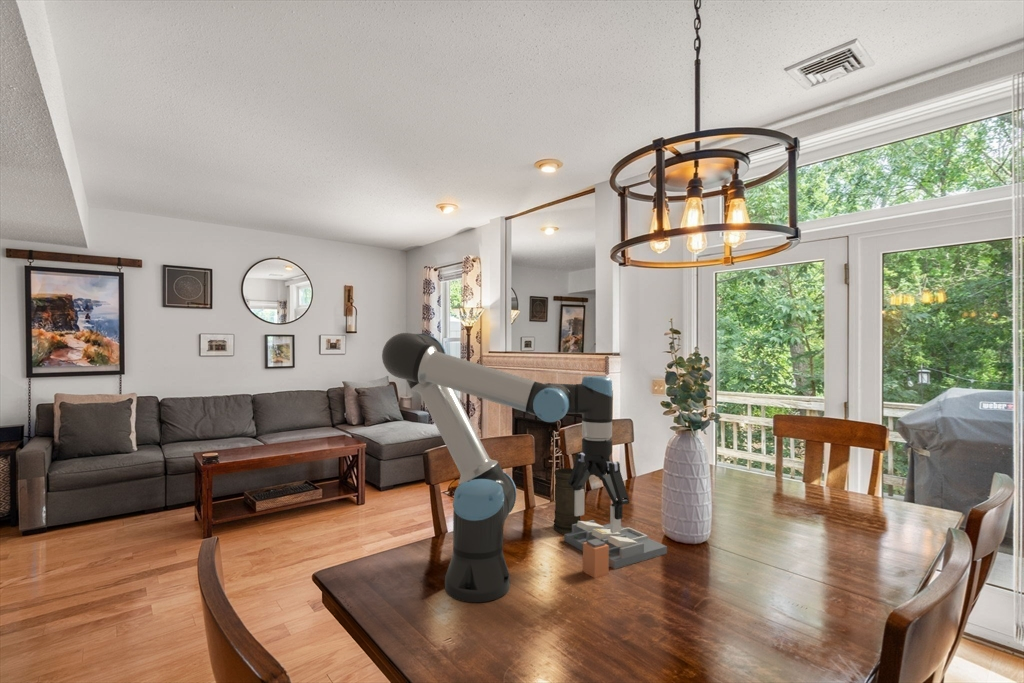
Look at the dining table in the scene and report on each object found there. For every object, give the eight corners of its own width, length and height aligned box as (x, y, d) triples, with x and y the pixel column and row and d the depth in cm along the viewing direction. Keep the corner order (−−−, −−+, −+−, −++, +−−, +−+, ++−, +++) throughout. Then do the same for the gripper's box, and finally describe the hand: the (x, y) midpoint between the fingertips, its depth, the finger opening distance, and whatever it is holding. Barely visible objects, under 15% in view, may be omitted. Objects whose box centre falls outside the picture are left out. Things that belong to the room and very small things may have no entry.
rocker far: (585, 530, 139) (586, 524, 139) (576, 526, 142) (577, 520, 143) (603, 532, 142) (604, 527, 143) (594, 528, 146) (595, 522, 146)
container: (572, 537, 146) (573, 476, 146) (547, 530, 151) (548, 471, 151) (587, 528, 153) (588, 470, 153) (562, 522, 158) (563, 466, 158)
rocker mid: (601, 539, 133) (602, 532, 134) (591, 534, 137) (592, 528, 137) (620, 539, 137) (620, 532, 137) (610, 534, 140) (611, 528, 141)
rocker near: (618, 546, 128) (619, 540, 128) (607, 541, 131) (609, 535, 131) (637, 548, 131) (638, 542, 131) (626, 543, 135) (627, 537, 135)
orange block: (594, 578, 119) (594, 546, 120) (582, 570, 123) (583, 540, 123) (608, 574, 122) (608, 543, 122) (596, 567, 126) (596, 537, 126)
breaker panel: (614, 569, 124) (614, 551, 125) (564, 541, 142) (564, 525, 143) (666, 553, 134) (667, 537, 134) (613, 529, 152) (613, 515, 152)
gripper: (644, 444, 114) (644, 536, 114) (577, 429, 136) (577, 506, 135) (621, 448, 111) (620, 542, 110) (555, 431, 132) (555, 511, 131)
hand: (596, 523), depth 123 cm, fingers open, 13 cm apart
